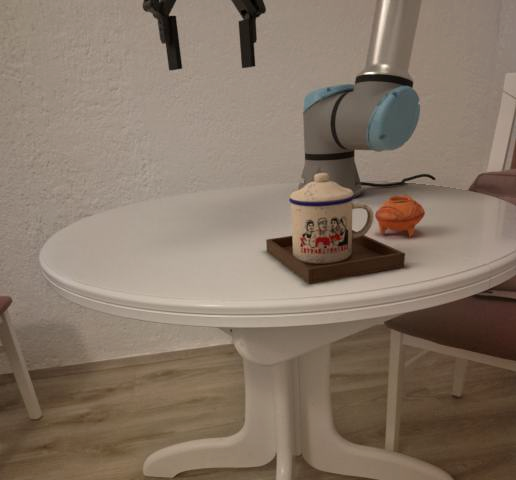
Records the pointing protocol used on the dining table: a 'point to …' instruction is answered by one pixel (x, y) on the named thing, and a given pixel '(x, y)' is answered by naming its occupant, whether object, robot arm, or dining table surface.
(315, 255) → the teacup with lid
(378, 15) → the robot arm
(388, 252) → the shallow tray
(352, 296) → the dining table surface
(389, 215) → the pot
